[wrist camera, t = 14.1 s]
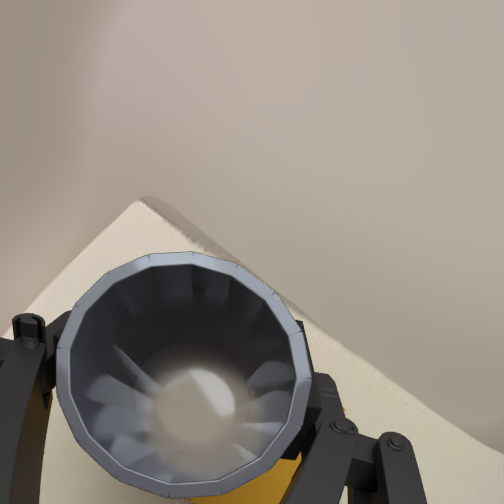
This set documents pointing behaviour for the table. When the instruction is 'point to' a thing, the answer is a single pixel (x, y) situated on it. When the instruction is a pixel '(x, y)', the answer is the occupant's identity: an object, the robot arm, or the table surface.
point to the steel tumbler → (183, 375)
